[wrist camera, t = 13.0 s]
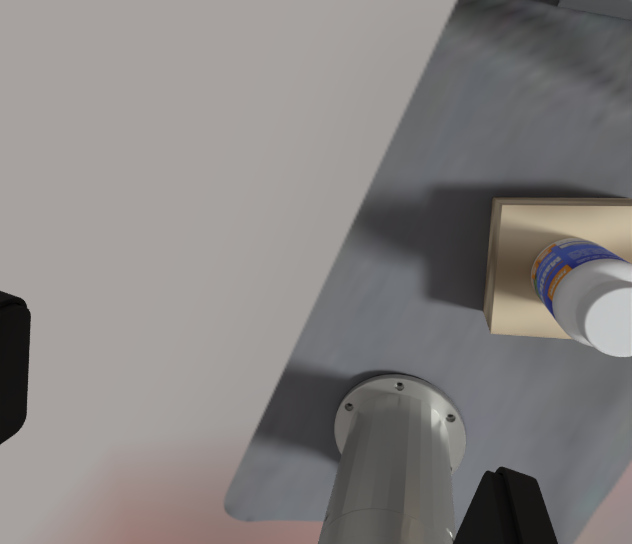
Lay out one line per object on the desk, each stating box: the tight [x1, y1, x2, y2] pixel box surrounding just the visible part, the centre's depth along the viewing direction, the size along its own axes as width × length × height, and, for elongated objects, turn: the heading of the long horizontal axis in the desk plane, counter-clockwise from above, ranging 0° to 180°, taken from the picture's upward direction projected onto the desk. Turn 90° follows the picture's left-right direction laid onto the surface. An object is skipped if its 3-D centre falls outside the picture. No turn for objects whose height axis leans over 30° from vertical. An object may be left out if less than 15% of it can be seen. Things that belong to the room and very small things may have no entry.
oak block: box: [483, 197, 632, 339], centre depth 36 cm, size 10×10×5 cm
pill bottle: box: [531, 238, 632, 357], centre depth 29 cm, size 5×5×10 cm
